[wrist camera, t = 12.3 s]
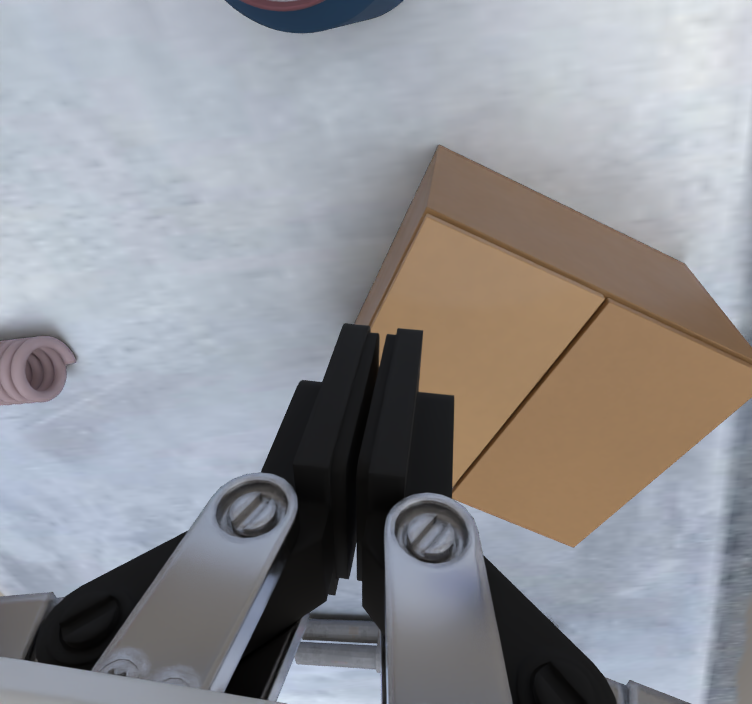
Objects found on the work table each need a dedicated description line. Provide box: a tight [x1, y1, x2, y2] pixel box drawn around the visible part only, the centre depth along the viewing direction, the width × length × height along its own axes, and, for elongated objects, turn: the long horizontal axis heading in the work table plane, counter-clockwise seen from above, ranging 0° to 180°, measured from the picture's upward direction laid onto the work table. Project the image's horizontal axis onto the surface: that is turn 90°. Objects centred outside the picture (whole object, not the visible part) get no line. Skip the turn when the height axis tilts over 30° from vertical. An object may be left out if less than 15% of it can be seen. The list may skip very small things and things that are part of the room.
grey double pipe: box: [294, 619, 381, 673], centre depth 50 cm, size 26×3×5 cm, turn 101°
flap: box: [370, 213, 605, 487], centre depth 22 cm, size 7×13×1 cm, turn 157°
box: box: [354, 145, 752, 547], centre depth 27 cm, size 15×13×10 cm
